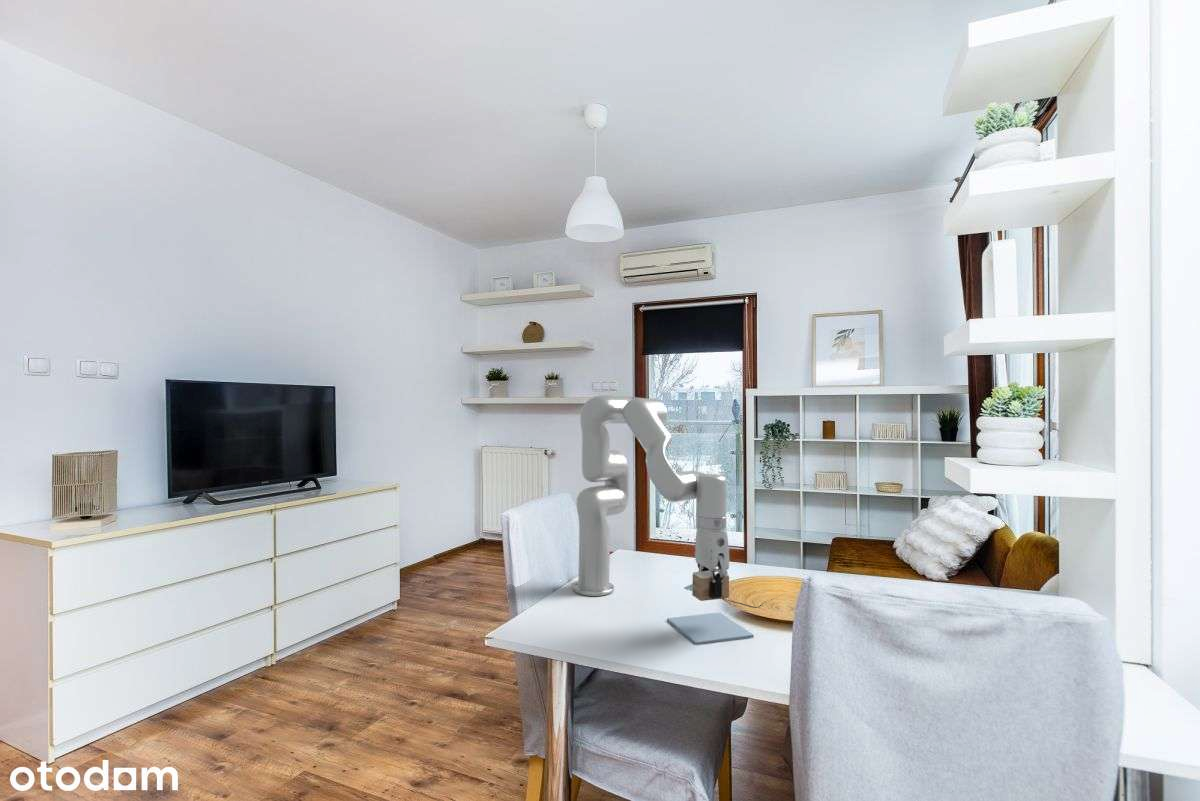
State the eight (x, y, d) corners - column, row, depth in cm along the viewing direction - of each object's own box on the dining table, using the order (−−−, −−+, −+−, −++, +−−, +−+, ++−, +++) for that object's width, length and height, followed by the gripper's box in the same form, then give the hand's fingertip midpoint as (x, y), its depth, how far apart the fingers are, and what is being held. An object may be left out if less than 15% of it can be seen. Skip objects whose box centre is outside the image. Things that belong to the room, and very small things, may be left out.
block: (700, 600, 145) (701, 576, 145) (692, 595, 149) (692, 572, 149) (728, 598, 147) (729, 574, 147) (719, 592, 151) (719, 569, 151)
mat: (667, 620, 153) (667, 618, 153) (720, 614, 158) (720, 612, 158) (696, 644, 138) (696, 642, 138) (753, 637, 143) (753, 634, 143)
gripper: (742, 528, 141) (741, 603, 141) (707, 516, 157) (706, 583, 157) (715, 530, 139) (714, 606, 139) (682, 517, 155) (682, 585, 155)
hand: (710, 593), depth 148 cm, fingers closed on block, 4 cm apart
